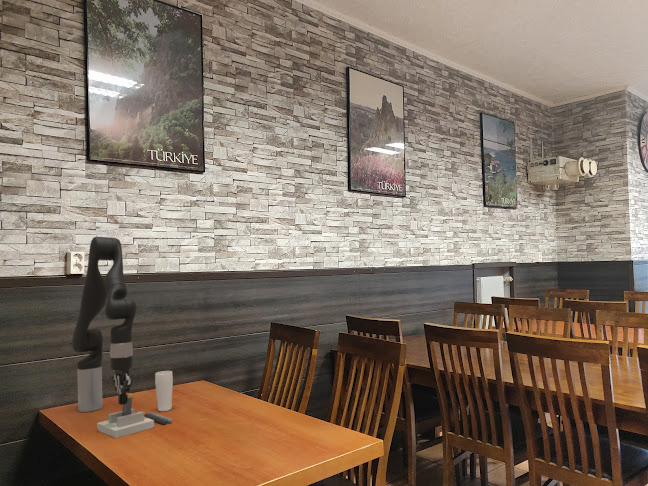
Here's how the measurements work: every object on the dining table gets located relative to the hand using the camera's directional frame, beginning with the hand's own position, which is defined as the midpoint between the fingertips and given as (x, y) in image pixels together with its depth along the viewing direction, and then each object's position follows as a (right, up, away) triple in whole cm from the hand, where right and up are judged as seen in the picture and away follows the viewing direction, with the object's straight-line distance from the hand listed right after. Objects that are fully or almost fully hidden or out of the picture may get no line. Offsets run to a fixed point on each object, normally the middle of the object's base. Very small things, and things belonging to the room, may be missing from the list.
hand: (122, 404), depth 176 cm
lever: (+1, -5, +1) cm, 5 cm away
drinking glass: (+8, -10, +23) cm, 26 cm away
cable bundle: (+10, -9, +9) cm, 16 cm away
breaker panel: (+1, -9, +1) cm, 9 cm away
